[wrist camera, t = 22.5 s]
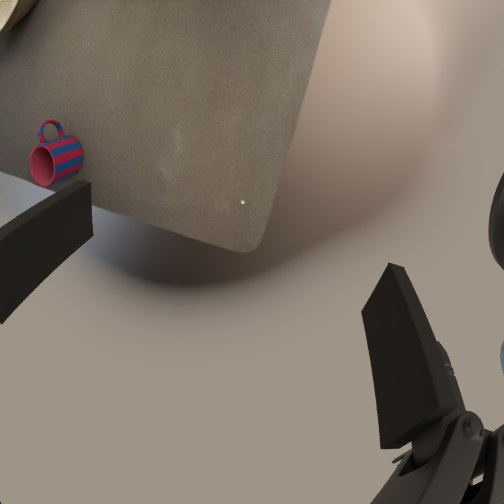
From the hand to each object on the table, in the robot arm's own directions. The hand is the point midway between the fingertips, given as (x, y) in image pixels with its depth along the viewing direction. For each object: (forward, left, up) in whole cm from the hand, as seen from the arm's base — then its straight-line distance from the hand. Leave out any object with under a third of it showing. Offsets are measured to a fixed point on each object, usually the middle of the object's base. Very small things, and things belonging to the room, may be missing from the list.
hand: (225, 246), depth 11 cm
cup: (+32, +5, -26) cm, 42 cm away
